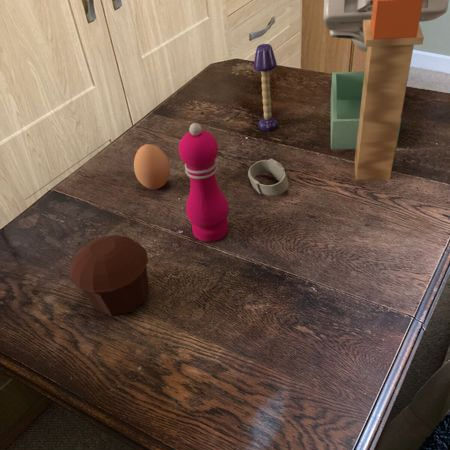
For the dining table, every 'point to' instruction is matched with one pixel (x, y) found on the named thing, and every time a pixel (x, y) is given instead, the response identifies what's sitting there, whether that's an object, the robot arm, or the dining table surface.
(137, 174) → the egg
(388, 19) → the mallet
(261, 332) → the dining table surface
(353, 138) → the bin
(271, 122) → the toy lamp
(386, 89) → the stand
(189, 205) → the pepper mill
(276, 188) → the grey band loop
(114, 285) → the muffin
